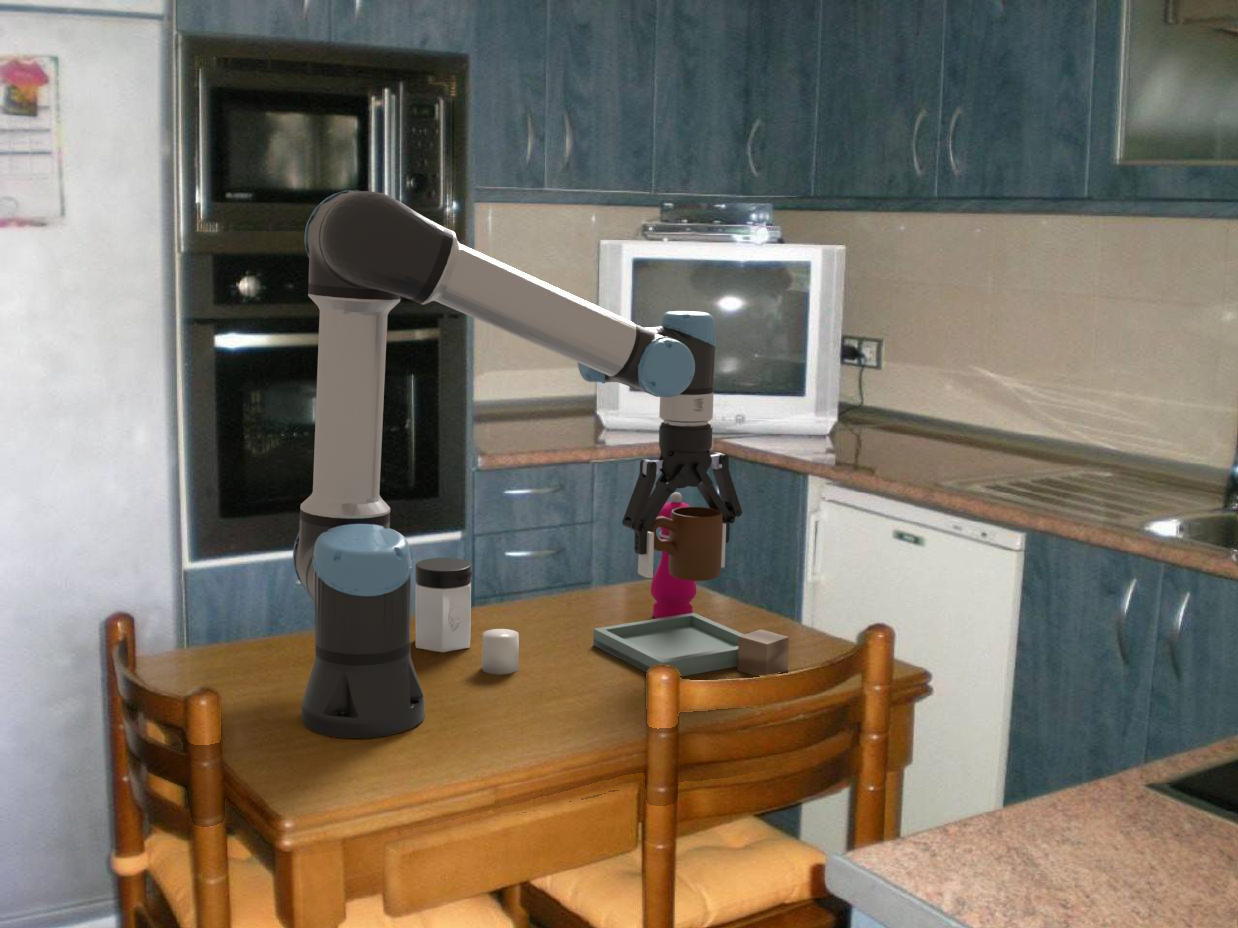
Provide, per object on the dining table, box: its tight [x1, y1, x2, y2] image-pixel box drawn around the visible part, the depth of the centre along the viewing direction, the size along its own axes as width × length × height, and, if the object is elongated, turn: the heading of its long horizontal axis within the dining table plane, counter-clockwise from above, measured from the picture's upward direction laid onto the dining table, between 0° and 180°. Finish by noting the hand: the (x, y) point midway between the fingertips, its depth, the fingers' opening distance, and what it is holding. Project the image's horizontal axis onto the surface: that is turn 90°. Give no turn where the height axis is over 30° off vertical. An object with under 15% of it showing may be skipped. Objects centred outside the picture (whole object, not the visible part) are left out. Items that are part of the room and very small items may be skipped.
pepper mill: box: [650, 491, 697, 619], centre depth 226 cm, size 7×7×20 cm
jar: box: [414, 557, 473, 653], centre depth 210 cm, size 9×8×12 cm
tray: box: [592, 612, 744, 678], centre depth 209 cm, size 18×18×2 cm
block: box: [736, 628, 790, 677], centre depth 202 cm, size 5×5×5 cm
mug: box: [649, 506, 723, 582], centre depth 206 cm, size 12×8×9 cm, turn 117°
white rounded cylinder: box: [481, 628, 520, 675], centre depth 200 cm, size 5×5×5 cm
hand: (681, 570), depth 207 cm, fingers closed on mug, 12 cm apart
